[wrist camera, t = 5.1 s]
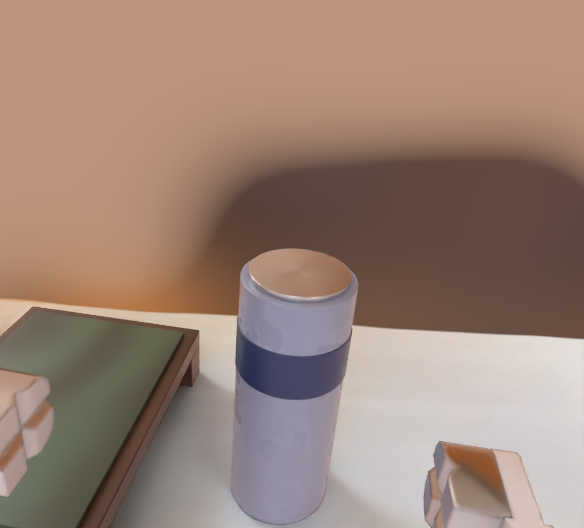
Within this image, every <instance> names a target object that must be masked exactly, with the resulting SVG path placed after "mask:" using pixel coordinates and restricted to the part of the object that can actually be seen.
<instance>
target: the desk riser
mask: <svg viewBox="0 0 584 528" xmlns="http://www.w3.org/2000/svg"><path fill="white" fill-rule="evenodd" d="M0 368H4V369H9V370H14V371H19V372H25V373H30V374H35V375H40V376H44V377H46V378H48V379H49V385H50V390H51V392H50V393H49V394H48V396H47V397H46V398H45V399H46V400H47V401H48V403H49V404H50V405H51V406H52V407H53V411H54V424H53V430H52V432H51V435H50V437H49V440H48V442H47V444H46V445H45V447H44V448H43V449H42V451H41V452H40V453H39V454H37V455H35V456H33V457H31V458H30V459H28V460H27V471H26V473H25V474H24V475H23V477H22V478H21V480H20V481H19V482H18V484H17V485H16V486H15V488H14V489H13V490H12V492H11V493H10V494H9V496H8V497H6V496H0V528H109V527H110V525H111V523H112V521H113V519H114V517H115V515H116V513H117V511H118V509H119V507H120V505H121V503H122V501H123V498H124V496H125V494H126V492H127V490H128V488H129V486H130V484H131V482H132V480H133V478H134V476H135V474H136V472H137V470H138V468H139V466H140V464H141V462H142V460H143V458H144V456H145V454H146V452H147V449H148V447H149V445H150V443H151V441H152V439H153V437H154V435H155V433H156V431H157V429H158V427H159V425H160V423H161V421H162V419H163V417H164V415H165V413H166V411H167V409H168V407H169V405H170V402H171V400H172V398H173V396H174V394H175V392H176V390H177V388H178V386H179V385H186V386H192V385H193V383H194V381H195V378H196V376H197V374H198V372H199V330H193V329H186V328H179V327H172V326H165V325H158V324H151V323H144V322H137V321H130V320H123V319H117V318H110V317H103V316H96V315H89V314H82V313H75V312H68V311H61V310H54V309H47V308H40V307H32V308H31V309H30V310H29V311H28V312H27V313H25V314H24V315H23V316H22V317H21V318H20V319H19V320H18V321H17V322H16V323H14V324H13V325H12V326H11V327H10V328H9V329H8V330H7V331H6V332H5V333H3V334H2V335H1V336H0Z"/></svg>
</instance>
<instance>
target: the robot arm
mask: <svg viewBox="0 0 584 528" xmlns="http://www.w3.org/2000/svg"><path fill="white" fill-rule="evenodd" d="M50 392H51V390H50V385H49V379H48V378H46V377H44V376H40V375H35V374H30V373H25V372H19V371H14V370H9V369H4V368H0V496H6V497H8V496H9V494H10V493H11V492H12V490H13V489H14V488H15V486H16V485H17V484H18V482H19V481H20V480H21V478H22V477H23V475H24V474H25V473H26V471H27V460H28V459H30V458H31V457H33V456H35V455H37V454H39V453H40V452H41V451H42V449H43V448H44V447H45V445H46V444H47V442H48V440H49V437H50V435H51V432H52V430H53V424H54V411H53V407H52V406H51V405H50V404H49V403H48V401H47V400H46V399H45V398H46V397H47V396H48V394H49V393H50ZM433 456H434V463H435V467H434V468H433V469H431V470H430V471H428V475H427V479H426V483H425V490H424V515H425V521H426V522H427V523H428V525H429V526H430V527H431V528H554V527H553V526H551V525H546V524H544V522H543V519H542V517H541V514H540V511H539V508H538V505H537V502H536V500H535V497H534V494H533V491H532V488H531V485H530V483H529V480H528V477H527V474H526V471H525V468H524V466H523V463H522V460H521V457H520V456H519V455H518V454H517V453H516V452H510V451H503V450H497V449H488V448H482V447H475V446H469V445H462V444H456V443H450V442H443V441H439V442H438V444H437V445H436V448H435V451H434V455H433Z"/></svg>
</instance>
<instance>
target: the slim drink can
mask: <svg viewBox="0 0 584 528" xmlns="http://www.w3.org/2000/svg"><path fill="white" fill-rule="evenodd" d="M357 292H358V281H357V278H356V276H355V275H354V274H353V273H352V271H351V270H349V269H348V268H347V267H346V266H345V265H344V264H343V263H342V262H340V261H339V260H337V259H335V258H333V257H331V256H329V255H326V254H323V253H320V252H316V251H311V250H304V249H279V250H273V251H269V252H266V253H263V254H261V255H259V256H257V257H256V258H254V259H252V260H251V261H249V262H248V263H247V264H246V265H245V266H244V267H243V269H242V271H241V274H240V294H239V315H238V318H237V337H236V360H235V363H236V383H235V405H234V427H233V450H232V472H231V489H232V493H233V496H234V498H235V500H236V501H237V503H238V505H239V506H240V507H241V508H242V509H243V510H244V511H245V512H246V513H247V514H249V515H250V516H252V517H253V518H255V519H257V520H260V521H263V522H266V523H270V524H291V523H295V522H298V521H300V520H303V519H305V518H306V517H308V516H310V515H311V514H312V513H313V512H314V511H315V510H316V509H317V508H318V507H319V505H320V504H321V502H322V500H323V498H324V495H325V489H326V483H327V477H328V470H329V464H330V458H331V452H332V446H333V440H334V433H335V427H336V421H337V415H338V409H339V403H340V397H341V390H342V384H343V379H344V376H345V372H346V366H347V360H348V354H349V348H350V342H351V336H352V323H353V317H354V310H355V304H356V298H357Z"/></svg>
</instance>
